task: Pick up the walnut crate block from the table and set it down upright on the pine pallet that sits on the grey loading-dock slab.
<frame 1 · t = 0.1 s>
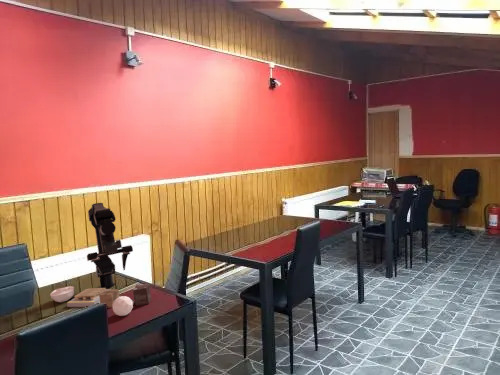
hand: (113, 272, 179), 15 cm above the table, tool pointing down, fingers open, 9 cm apart
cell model: (64, 301, 196), on the table
dock: (91, 299, 193), on the table
crate: (110, 304, 184), on the table
pallet: (90, 295, 193), resting on dock
pale pink ovoid: (126, 313, 172), on the table
box: (143, 303, 182), on the table
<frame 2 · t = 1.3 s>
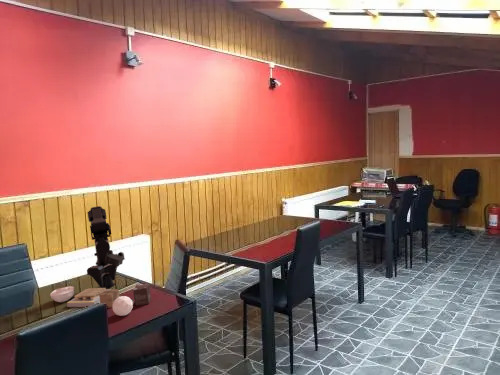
hand: (107, 283, 183), 10 cm above the table, tool pointing down, fingers open, 9 cm apart
nothing on the table moved.
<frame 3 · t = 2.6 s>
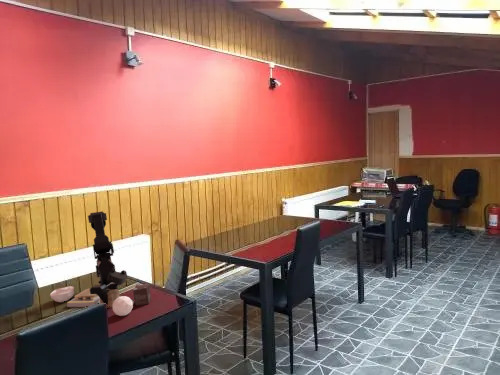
hand: (110, 302, 184), 1 cm above the table, tool pointing down, fingers closed on crate, 6 cm apart
crate: (110, 304, 184), on the table, touching gripper
everything else where it was.
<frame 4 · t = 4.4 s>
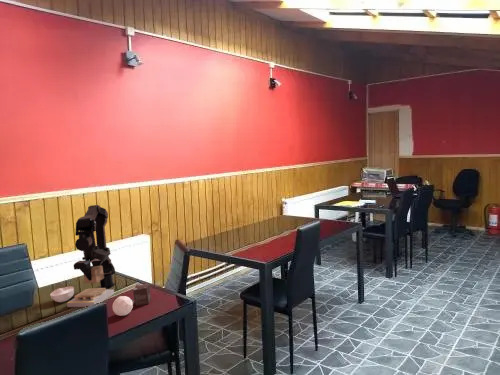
hand: (94, 277, 189), 11 cm above the table, tool pointing down, fingers closed on crate, 6 cm apart
crate: (94, 280, 189), point 10 cm above the table, touching gripper
everything else where it was.
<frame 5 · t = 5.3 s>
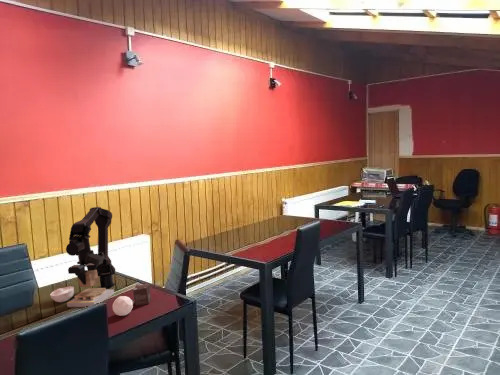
hand: (88, 282, 192), 9 cm above the table, tool pointing down, fingers closed on crate, 6 cm apart
crate: (89, 284, 192), point 7 cm above the table, touching gripper
everything else where it was.
when the fingers open (7 cm above the table, at t = 6.1 s): crate drops 1 cm, resting on pallet.
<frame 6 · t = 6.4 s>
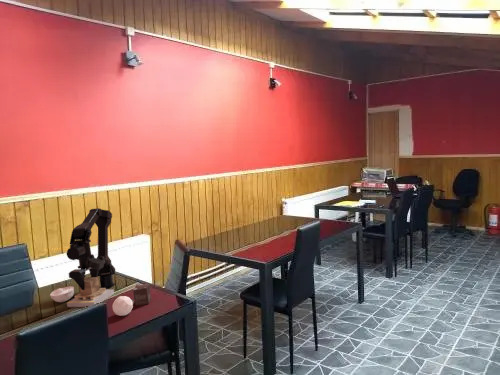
hand: (89, 286, 192), 7 cm above the table, tool pointing down, fingers open, 9 cm apart
crate: (90, 291, 192), point 4 cm above the table, touching pallet
everything else where it was.
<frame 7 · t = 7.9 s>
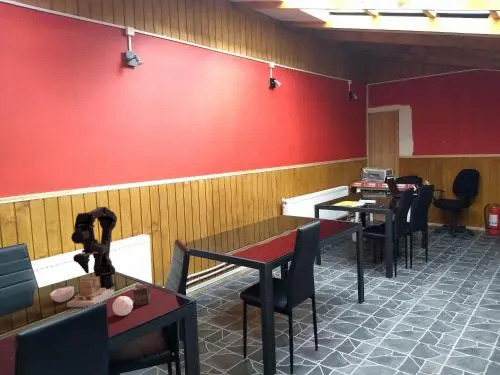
hand: (93, 270, 198), 12 cm above the table, tool pointing down, fingers open, 9 cm apart
nothing on the table moved.
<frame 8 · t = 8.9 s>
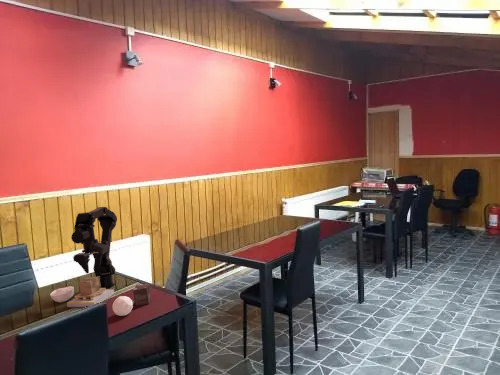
hand: (93, 270, 198), 13 cm above the table, tool pointing down, fingers open, 9 cm apart
nothing on the table moved.
at the end: crate inside the target area on the pallet (0.0 cm from its centre), point 1.9 cm above the pallet's base; crate tilted 0°; the gripper is holding nothing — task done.
